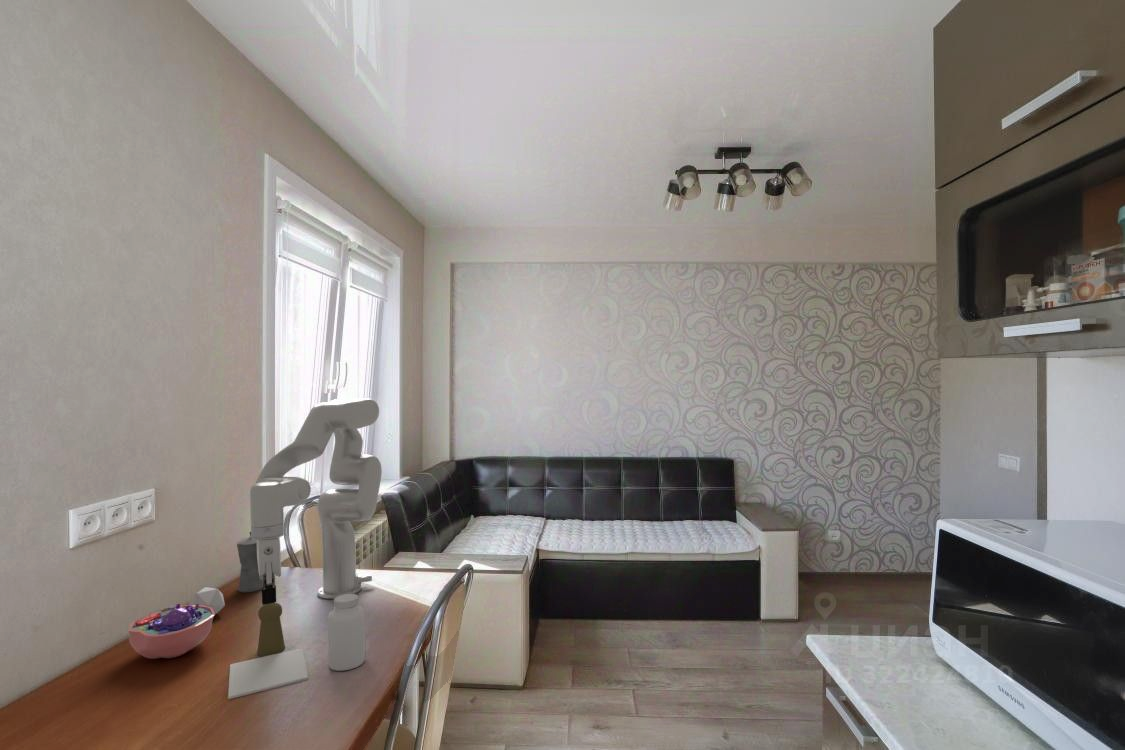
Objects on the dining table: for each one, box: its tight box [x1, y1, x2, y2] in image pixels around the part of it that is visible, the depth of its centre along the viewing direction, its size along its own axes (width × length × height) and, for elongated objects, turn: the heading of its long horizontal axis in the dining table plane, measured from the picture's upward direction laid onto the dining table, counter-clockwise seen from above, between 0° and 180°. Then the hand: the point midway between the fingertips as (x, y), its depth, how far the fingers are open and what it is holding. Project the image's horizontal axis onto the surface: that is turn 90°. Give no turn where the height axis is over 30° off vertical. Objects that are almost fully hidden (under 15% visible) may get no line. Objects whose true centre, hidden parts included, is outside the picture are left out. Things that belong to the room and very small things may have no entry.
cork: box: [256, 602, 286, 657], centre depth 139 cm, size 6×6×11 cm
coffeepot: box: [236, 531, 263, 593], centre depth 183 cm, size 15×9×18 cm, turn 51°
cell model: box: [128, 603, 216, 660], centre depth 139 cm, size 17×20×11 cm
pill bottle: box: [327, 593, 366, 672], centre depth 131 cm, size 8×8×15 cm
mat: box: [227, 647, 309, 700], centre depth 128 cm, size 15×16×1 cm
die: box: [188, 586, 226, 615], centre depth 161 cm, size 8×9×10 cm
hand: (269, 602), depth 147 cm, fingers closed
